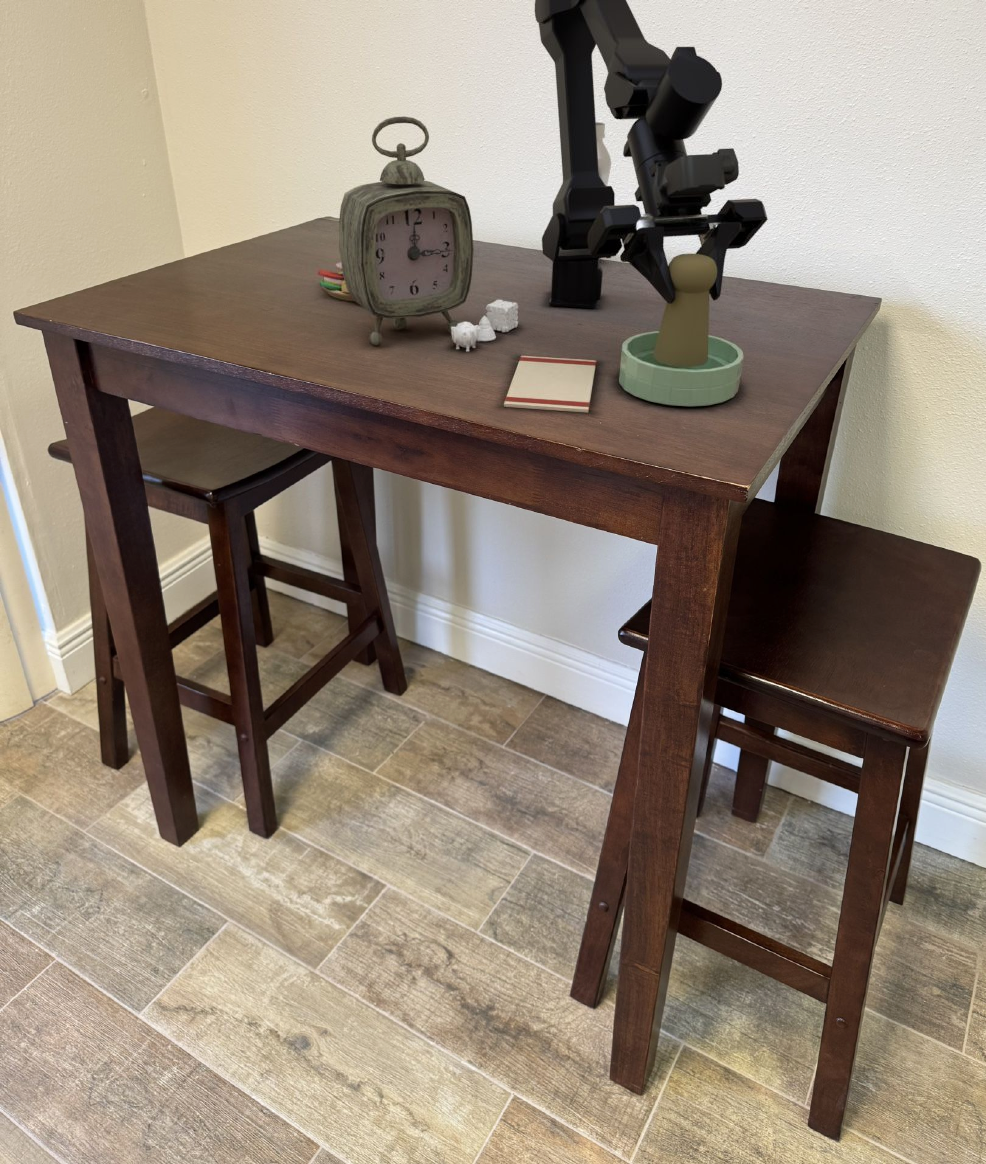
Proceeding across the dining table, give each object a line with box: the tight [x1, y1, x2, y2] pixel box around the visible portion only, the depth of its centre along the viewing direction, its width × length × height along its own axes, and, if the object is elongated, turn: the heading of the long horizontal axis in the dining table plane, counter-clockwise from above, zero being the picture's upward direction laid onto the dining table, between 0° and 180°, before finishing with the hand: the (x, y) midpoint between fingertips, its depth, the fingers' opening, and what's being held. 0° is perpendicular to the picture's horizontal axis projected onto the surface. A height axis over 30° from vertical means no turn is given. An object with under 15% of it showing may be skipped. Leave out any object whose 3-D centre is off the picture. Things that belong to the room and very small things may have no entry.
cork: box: [653, 253, 717, 367], centre depth 101 cm, size 6×6×11 cm
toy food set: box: [317, 261, 357, 303], centre depth 134 cm, size 13×13×3 cm
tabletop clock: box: [338, 116, 475, 346], centre depth 113 cm, size 14×9×25 cm, turn 117°
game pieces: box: [450, 299, 520, 352], centre depth 118 cm, size 12×3×3 cm, turn 149°
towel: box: [503, 355, 597, 414], centre depth 106 cm, size 9×15×1 cm, turn 172°
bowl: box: [618, 330, 745, 407], centre depth 105 cm, size 13×13×4 cm
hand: (694, 299), depth 99 cm, fingers closed on cork, 5 cm apart
